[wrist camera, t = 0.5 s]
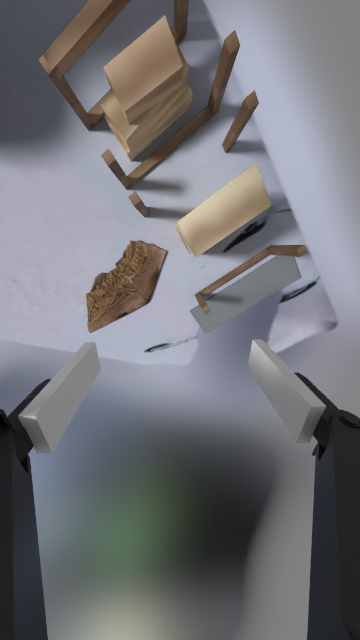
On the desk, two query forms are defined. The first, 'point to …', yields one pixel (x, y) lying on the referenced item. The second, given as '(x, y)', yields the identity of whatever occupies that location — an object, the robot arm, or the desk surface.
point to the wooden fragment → (124, 285)
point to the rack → (75, 41)
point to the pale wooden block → (224, 212)
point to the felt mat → (247, 292)
